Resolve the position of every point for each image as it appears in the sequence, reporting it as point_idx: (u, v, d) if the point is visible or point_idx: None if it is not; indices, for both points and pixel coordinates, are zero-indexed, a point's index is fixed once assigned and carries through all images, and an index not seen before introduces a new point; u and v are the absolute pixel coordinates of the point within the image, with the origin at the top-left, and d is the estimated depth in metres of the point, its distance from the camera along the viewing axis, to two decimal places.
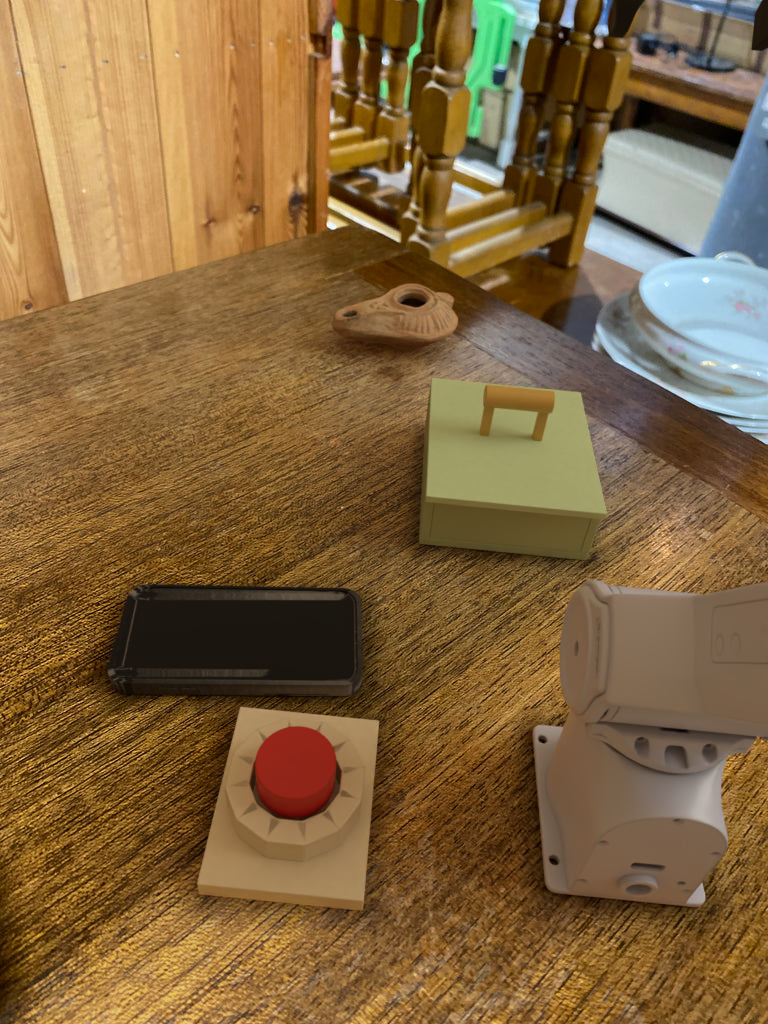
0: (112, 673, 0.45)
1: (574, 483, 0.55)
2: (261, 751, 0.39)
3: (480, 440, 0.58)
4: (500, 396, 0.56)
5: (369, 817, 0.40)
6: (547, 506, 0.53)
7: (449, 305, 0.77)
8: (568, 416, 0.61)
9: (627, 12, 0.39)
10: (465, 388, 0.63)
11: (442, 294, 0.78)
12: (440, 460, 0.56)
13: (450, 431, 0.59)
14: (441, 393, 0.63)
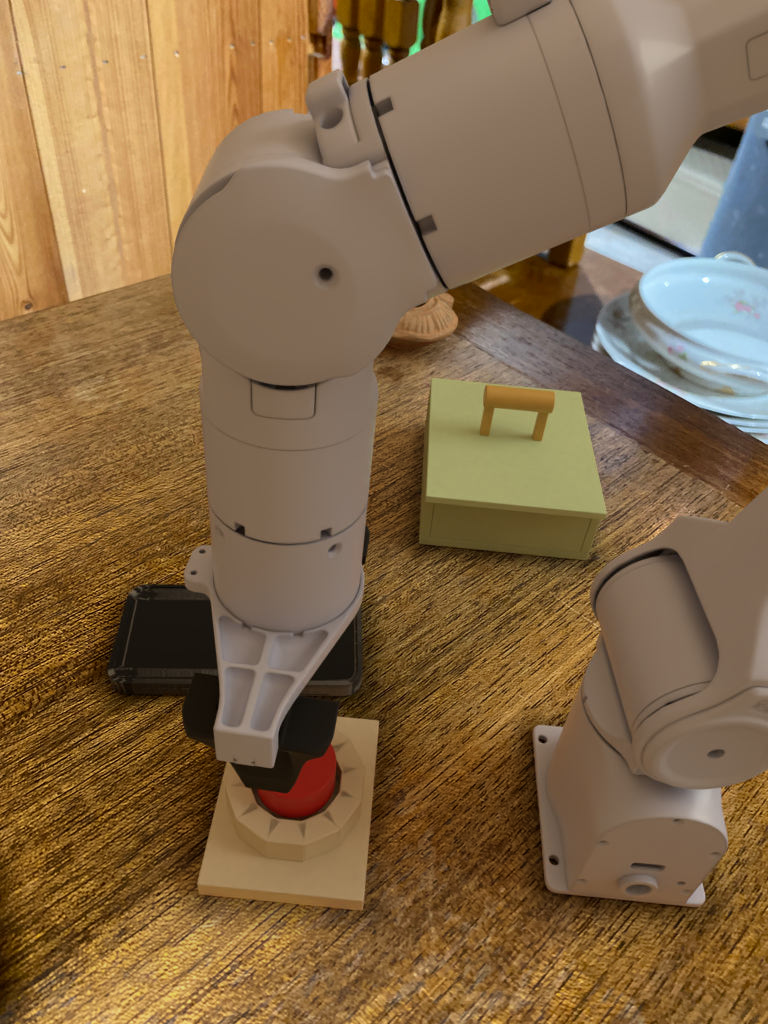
0: (112, 673, 0.45)
1: (574, 483, 0.55)
2: None
3: (480, 440, 0.58)
4: (500, 396, 0.56)
5: (369, 817, 0.40)
6: (547, 506, 0.53)
7: (449, 305, 0.77)
8: (568, 416, 0.61)
9: None
10: (465, 388, 0.63)
11: (442, 294, 0.78)
12: (440, 460, 0.56)
13: (450, 431, 0.59)
14: (441, 393, 0.63)
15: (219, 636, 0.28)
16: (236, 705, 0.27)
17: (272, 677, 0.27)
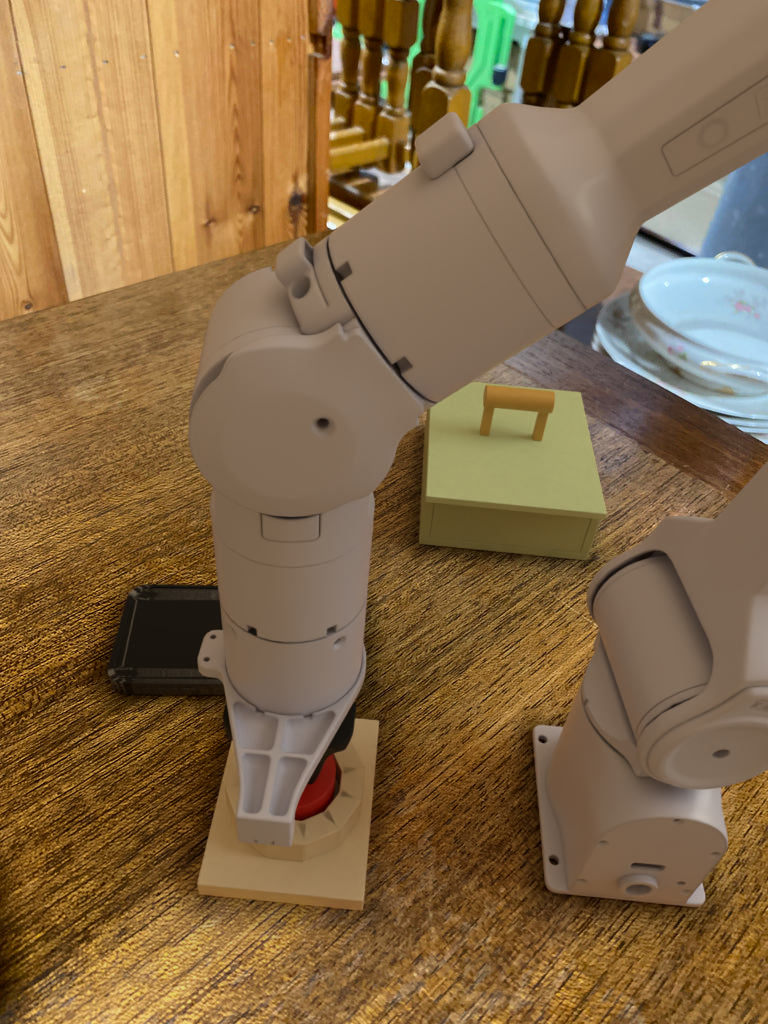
0: (112, 673, 0.45)
1: (574, 483, 0.55)
2: None
3: (480, 440, 0.58)
4: (500, 396, 0.56)
5: (369, 817, 0.40)
6: (547, 506, 0.53)
7: None
8: (568, 416, 0.61)
9: None
10: (465, 388, 0.63)
11: None
12: (440, 460, 0.56)
13: (450, 431, 0.59)
14: None
15: (235, 722, 0.30)
16: (254, 790, 0.29)
17: (286, 760, 0.30)
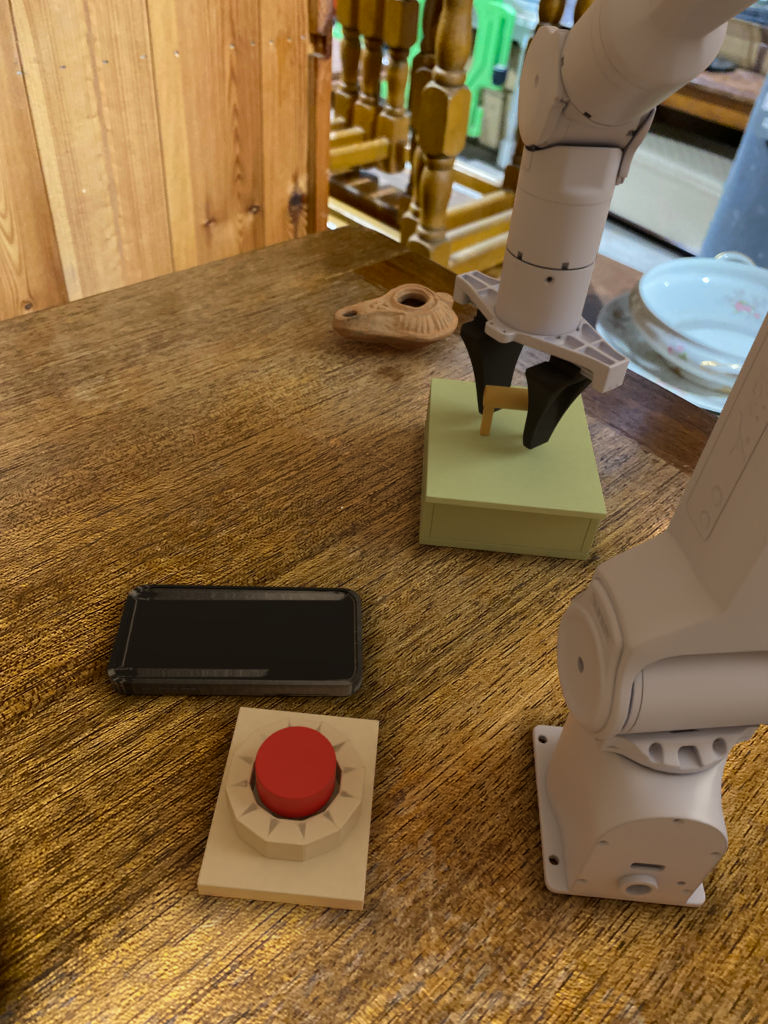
0: (112, 673, 0.45)
1: (574, 483, 0.55)
2: (261, 751, 0.39)
3: (480, 440, 0.58)
4: (500, 396, 0.56)
5: (369, 817, 0.40)
6: (547, 506, 0.53)
7: (449, 305, 0.77)
8: (568, 416, 0.61)
9: None
10: (465, 388, 0.63)
11: (442, 294, 0.78)
12: (440, 460, 0.56)
13: (450, 431, 0.59)
14: (441, 393, 0.63)
15: (555, 344, 0.50)
16: None
17: None
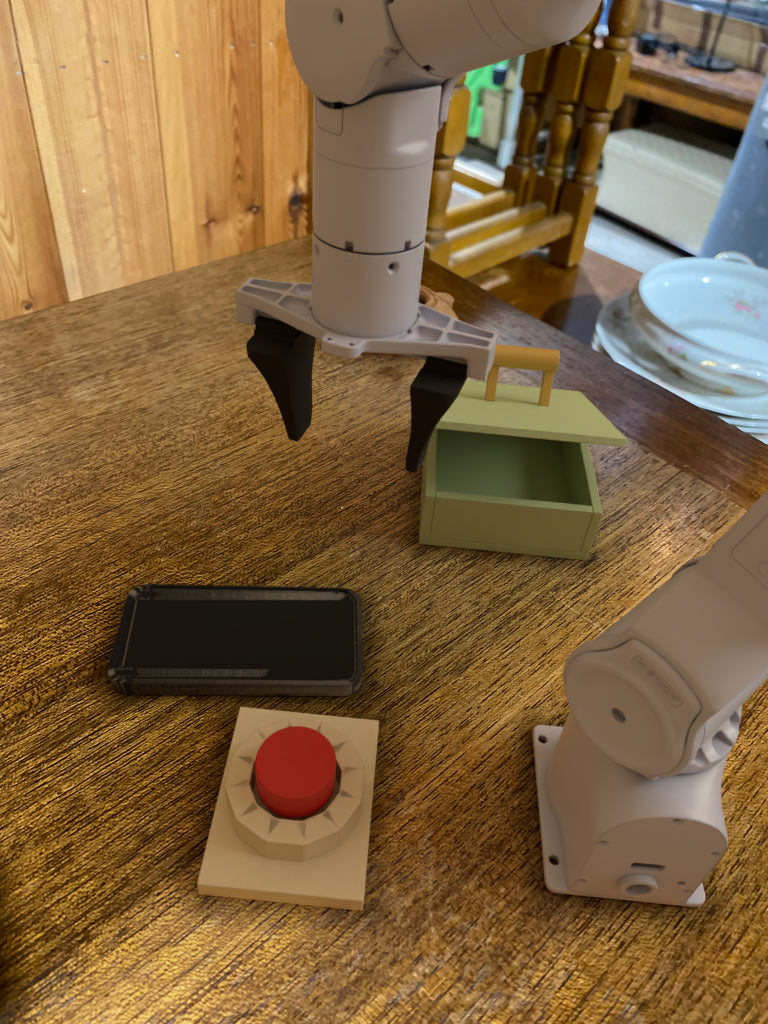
0: (112, 673, 0.45)
1: (588, 424, 0.53)
2: (261, 751, 0.39)
3: (486, 402, 0.57)
4: (505, 350, 0.56)
5: (369, 817, 0.40)
6: (563, 431, 0.50)
7: (449, 305, 0.77)
8: (571, 399, 0.61)
9: None
10: (466, 382, 0.63)
11: (442, 294, 0.78)
12: None
13: None
14: None
15: (415, 341, 0.40)
16: None
17: None
